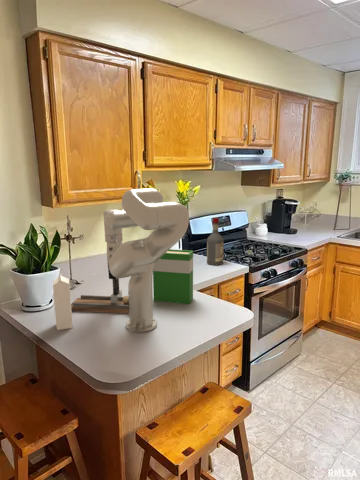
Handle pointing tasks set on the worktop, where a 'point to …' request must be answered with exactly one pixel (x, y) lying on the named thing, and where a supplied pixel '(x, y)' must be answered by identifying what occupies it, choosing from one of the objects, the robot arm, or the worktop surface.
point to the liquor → (215, 246)
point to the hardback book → (174, 277)
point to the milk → (62, 303)
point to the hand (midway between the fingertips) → (116, 275)
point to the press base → (98, 304)
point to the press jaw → (116, 292)
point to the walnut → (126, 300)
